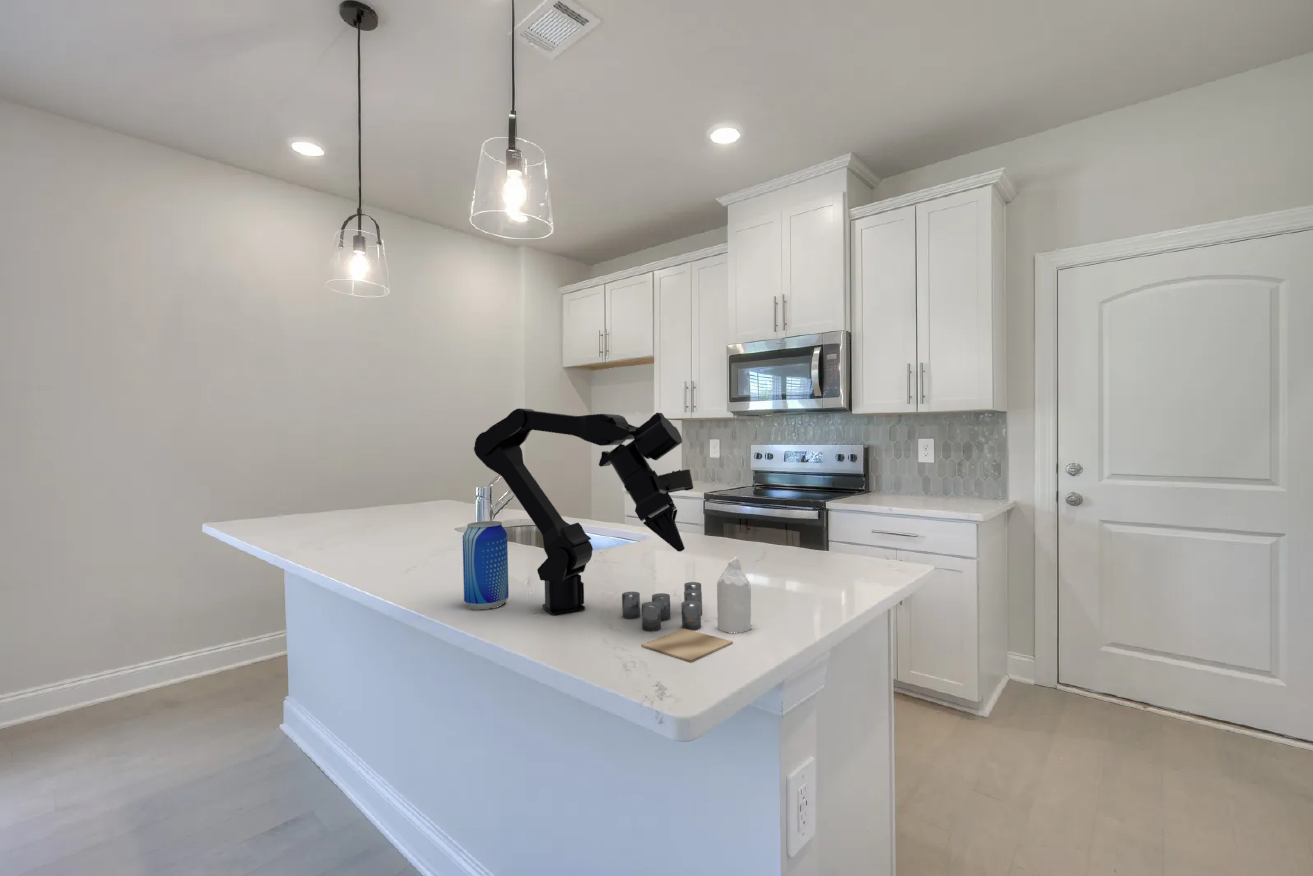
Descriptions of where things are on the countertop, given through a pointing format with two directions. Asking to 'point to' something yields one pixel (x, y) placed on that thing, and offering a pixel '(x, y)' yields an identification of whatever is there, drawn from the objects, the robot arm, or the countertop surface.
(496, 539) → the beer can
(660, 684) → the countertop surface
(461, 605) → the countertop surface
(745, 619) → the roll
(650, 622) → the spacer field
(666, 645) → the mat
